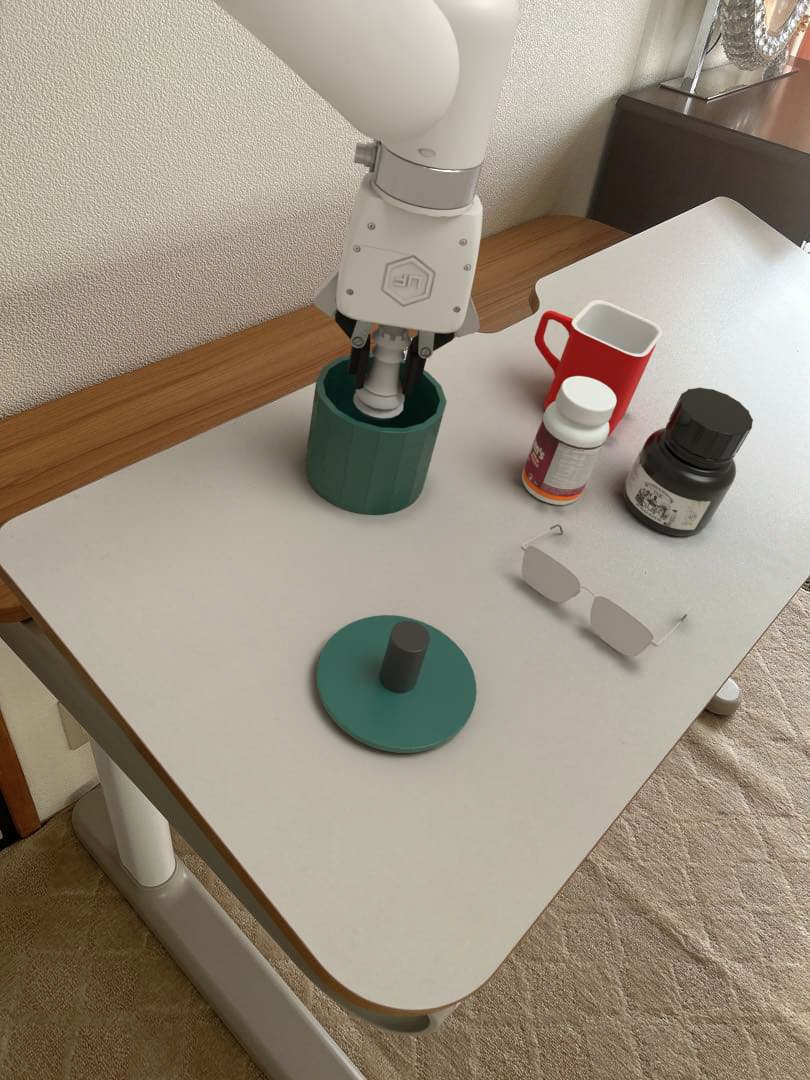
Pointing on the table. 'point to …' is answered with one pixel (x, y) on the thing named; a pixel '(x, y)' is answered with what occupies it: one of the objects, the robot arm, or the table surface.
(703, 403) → the ink bottle
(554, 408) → the pill bottle
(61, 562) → the table surface
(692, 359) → the table surface
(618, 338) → the mug
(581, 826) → the table surface
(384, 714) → the lid
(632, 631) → the eyeglasses
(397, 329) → the rook chess piece
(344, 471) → the canister
